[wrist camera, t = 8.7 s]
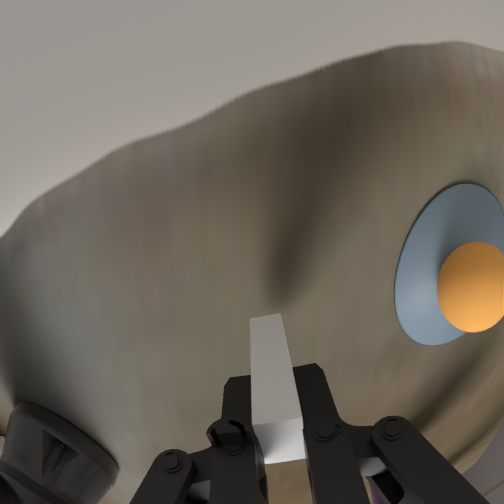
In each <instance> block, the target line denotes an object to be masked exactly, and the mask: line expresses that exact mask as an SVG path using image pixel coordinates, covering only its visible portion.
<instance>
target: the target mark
mask: <svg viewBox="0 0 504 504" xmlns="http://www.w3.org/2000/svg"><path fill="white" fill-rule="evenodd" d="M470 242H485V243H488V244H490V245H492V246H494V247H496V248H497V249H498V250H499V251H500V252H501V253H502V254H503V255H504V213H503V211H502V208H501V206H500V204H499V203H498V201H497V200H496V198H495V197H494V196H493V195H492V194H491V193H490V192H489V191H487V190H486V189H485V188H483V187H481V186H478V185H474V184H459V185H455V186H452V187H450V188H448V189H446V190H444V191H443V192H441V193H440V194H438V195H437V196H436V197H435V198H434V199H433V200H432V201H431V202H430V203H429V204H428V205H427V206H426V207H425V208H424V210H423V211H422V212H421V214H420V215H419V217H418V218H417V220H416V221H415V223H414V225H413V227H412V228H411V230H410V232H409V234H408V237H407V239H406V241H405V243H404V246H403V249H402V251H401V254H400V258H399V262H398V265H397V271H396V276H395V285H394V302H395V309H396V313H397V317H398V320H399V322H400V324H401V326H402V328H403V329H404V331H405V332H406V333H407V334H408V335H409V336H410V337H411V338H412V339H413V340H415V341H417V342H419V343H422V344H425V345H440V344H444V343H447V342H450V341H452V340H454V339H456V338H458V337H460V336H461V335H463V334H464V333H466V331H462V330H460V329H458V328H456V327H455V326H453V325H452V324H451V323H450V322H449V321H448V320H447V319H446V317H445V316H444V315H443V313H442V311H441V308H440V306H439V303H438V298H437V281H438V276H439V273H440V270H441V268H442V265H443V263H444V262H445V260H446V259H447V257H448V256H449V255H450V254H451V253H452V252H453V251H454V250H455V249H457V248H458V247H460V246H462V245H464V244H466V243H470Z"/></svg>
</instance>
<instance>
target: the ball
mask: <svg viewBox="0 0 504 504" xmlns="http://www.w3.org/2000/svg"><path fill="white" fill-rule="evenodd" d="M437 298H438V303H439V306H440V308H441V311H442V313H443V315H444V316H445V317H446V319H447V320H448V321H449V322H450V323H451V324H452V325H453V326H455V327H456V328H458V329H460V330H462V331H466V332H480V331H483V330H486V329H488V328H490V327H492V326H493V325H495V324H496V323H497V322H498V321H499V320H500V319H501V318H502V317H503V315H504V255H503V254H502V253H501V252H500V251H499V250H498V249H497V248H496V247H494V246H492V245H490V244H488V243H485V242H470V243H466V244H464V245H462V246H460V247H458V248H457V249H455V250H454V251H453V252H452V253H451V254H450V255H449V256H448V257H447V259H446V260H445V262H444V263H443V265H442V268H441V270H440V273H439V276H438V281H437Z"/></svg>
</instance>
